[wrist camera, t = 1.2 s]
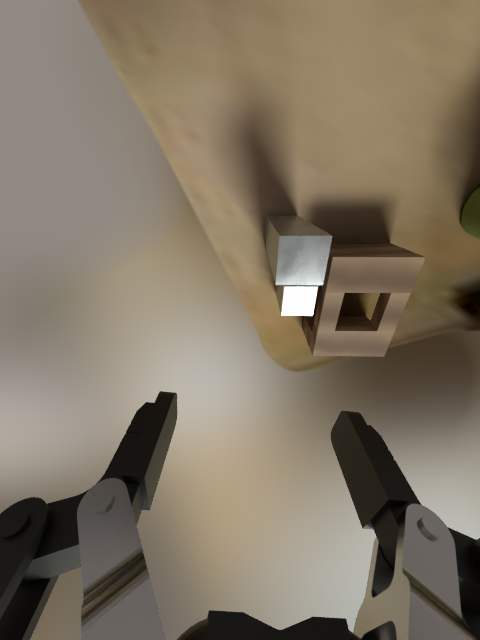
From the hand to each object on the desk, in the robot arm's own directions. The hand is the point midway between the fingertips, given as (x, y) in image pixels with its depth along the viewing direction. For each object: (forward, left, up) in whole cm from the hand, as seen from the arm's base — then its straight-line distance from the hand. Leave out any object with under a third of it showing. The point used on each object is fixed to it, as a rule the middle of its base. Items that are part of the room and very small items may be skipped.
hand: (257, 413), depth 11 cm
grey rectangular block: (+3, +6, -25) cm, 26 cm away
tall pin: (-4, +4, -25) cm, 26 cm away
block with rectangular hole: (+4, +14, -25) cm, 29 cm away
